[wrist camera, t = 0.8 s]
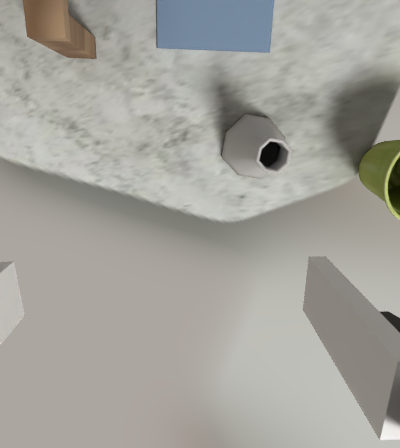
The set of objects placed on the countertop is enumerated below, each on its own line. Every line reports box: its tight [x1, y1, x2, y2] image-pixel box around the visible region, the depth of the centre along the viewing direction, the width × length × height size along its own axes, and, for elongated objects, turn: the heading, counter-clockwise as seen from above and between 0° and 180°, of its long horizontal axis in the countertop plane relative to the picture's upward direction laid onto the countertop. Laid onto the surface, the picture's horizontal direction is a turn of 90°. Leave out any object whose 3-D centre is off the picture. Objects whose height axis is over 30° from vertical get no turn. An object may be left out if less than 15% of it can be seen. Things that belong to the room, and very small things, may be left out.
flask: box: [222, 114, 293, 179], centre depth 34 cm, size 7×7×10 cm
